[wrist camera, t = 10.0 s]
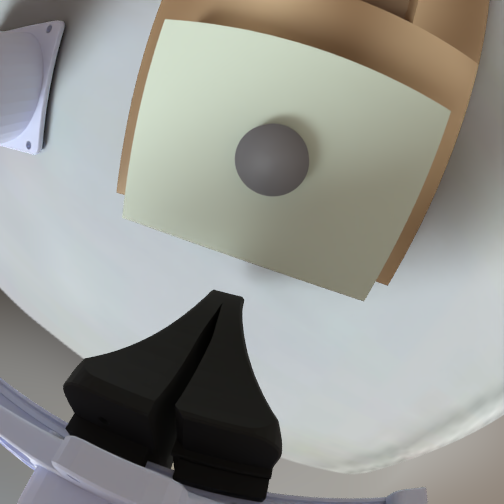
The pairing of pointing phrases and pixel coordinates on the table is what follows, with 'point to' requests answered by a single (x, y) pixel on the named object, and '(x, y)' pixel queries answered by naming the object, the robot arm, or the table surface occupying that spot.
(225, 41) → the cover
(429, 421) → the table surface
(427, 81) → the wooden compartment box
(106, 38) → the table surface
